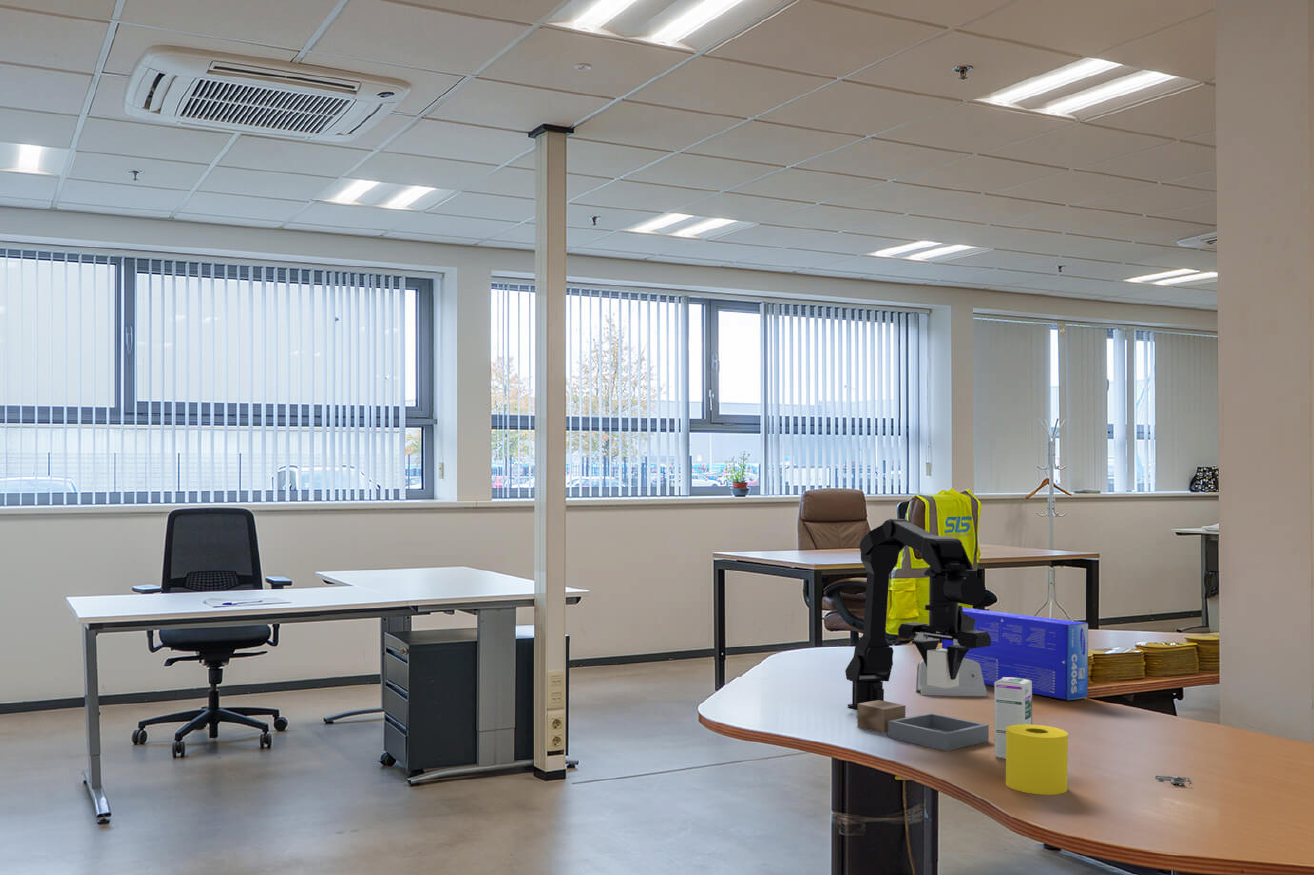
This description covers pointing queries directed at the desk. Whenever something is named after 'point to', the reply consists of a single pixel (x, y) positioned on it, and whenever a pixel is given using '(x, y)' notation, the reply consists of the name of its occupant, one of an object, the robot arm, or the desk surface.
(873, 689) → the robot arm
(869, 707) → the oversize block
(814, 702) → the desk surface
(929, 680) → the small block
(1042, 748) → the yellow paper roll
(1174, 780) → the grey flat piece
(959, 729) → the sorting tray
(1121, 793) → the desk surface
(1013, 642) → the toner cartridge box
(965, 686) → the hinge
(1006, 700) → the syrup box
